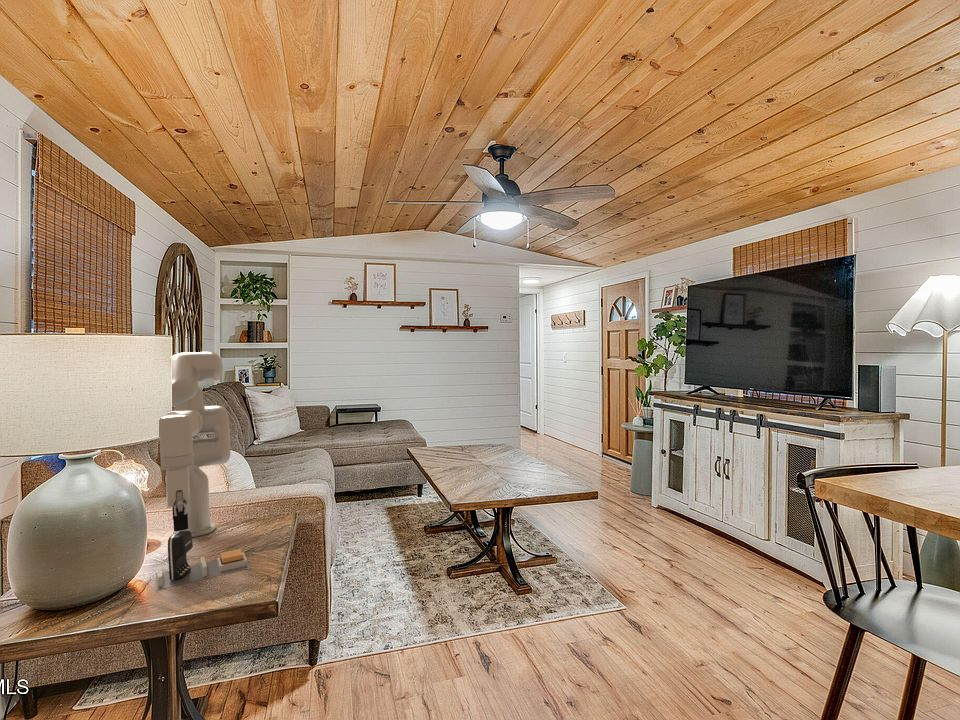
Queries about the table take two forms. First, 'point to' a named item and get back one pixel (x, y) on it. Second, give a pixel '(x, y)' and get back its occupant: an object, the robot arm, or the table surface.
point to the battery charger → (179, 554)
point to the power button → (231, 555)
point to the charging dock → (202, 572)
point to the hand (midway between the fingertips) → (180, 524)
